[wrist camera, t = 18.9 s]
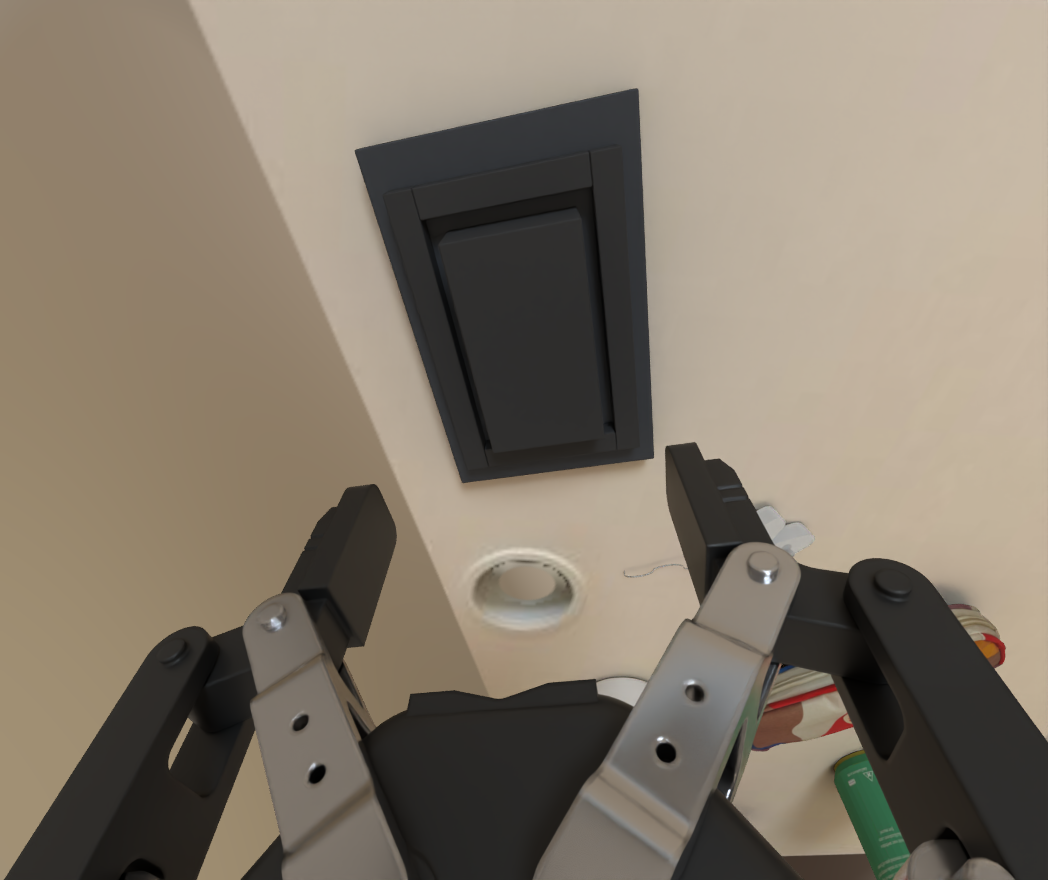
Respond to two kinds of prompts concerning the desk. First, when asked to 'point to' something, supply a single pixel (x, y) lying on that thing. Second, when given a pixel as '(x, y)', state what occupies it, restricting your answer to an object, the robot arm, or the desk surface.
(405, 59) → the desk surface
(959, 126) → the desk surface
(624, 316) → the base pad
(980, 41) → the desk surface
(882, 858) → the beverage can
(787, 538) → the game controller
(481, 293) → the black pad
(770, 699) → the pencil case
